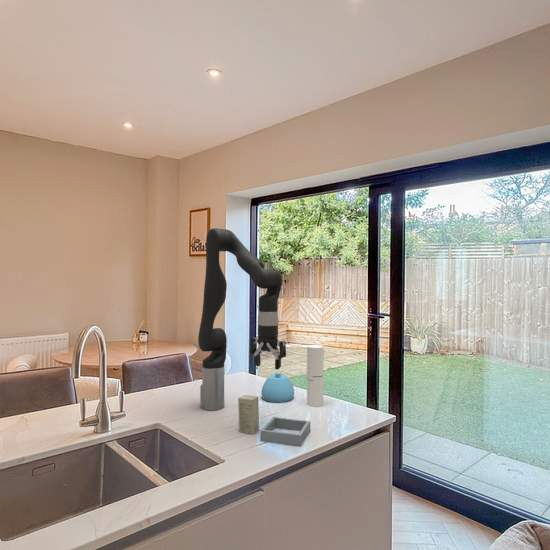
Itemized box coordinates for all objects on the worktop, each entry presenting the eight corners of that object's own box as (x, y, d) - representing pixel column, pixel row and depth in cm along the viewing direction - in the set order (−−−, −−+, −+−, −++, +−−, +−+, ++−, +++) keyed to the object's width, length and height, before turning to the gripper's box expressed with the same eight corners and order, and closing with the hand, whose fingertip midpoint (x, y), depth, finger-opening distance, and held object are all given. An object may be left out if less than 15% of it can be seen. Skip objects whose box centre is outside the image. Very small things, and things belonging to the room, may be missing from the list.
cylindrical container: (322, 406, 175) (322, 348, 175) (306, 405, 176) (306, 347, 176) (324, 401, 182) (324, 345, 182) (308, 400, 183) (308, 344, 183)
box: (260, 440, 139) (260, 430, 139) (273, 426, 152) (273, 416, 152) (300, 446, 134) (300, 435, 134) (310, 430, 148) (310, 421, 148)
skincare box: (259, 430, 148) (259, 396, 148) (253, 434, 144) (253, 399, 144) (243, 427, 151) (243, 394, 151) (237, 431, 147) (237, 397, 147)
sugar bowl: (255, 401, 183) (255, 375, 183) (269, 392, 197) (269, 368, 197) (287, 405, 177) (287, 378, 177) (298, 395, 191) (298, 370, 191)
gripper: (246, 323, 152) (246, 367, 152) (279, 326, 144) (278, 372, 144) (257, 321, 158) (257, 363, 158) (289, 324, 151) (289, 368, 151)
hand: (267, 367), depth 151 cm, fingers open, 8 cm apart
